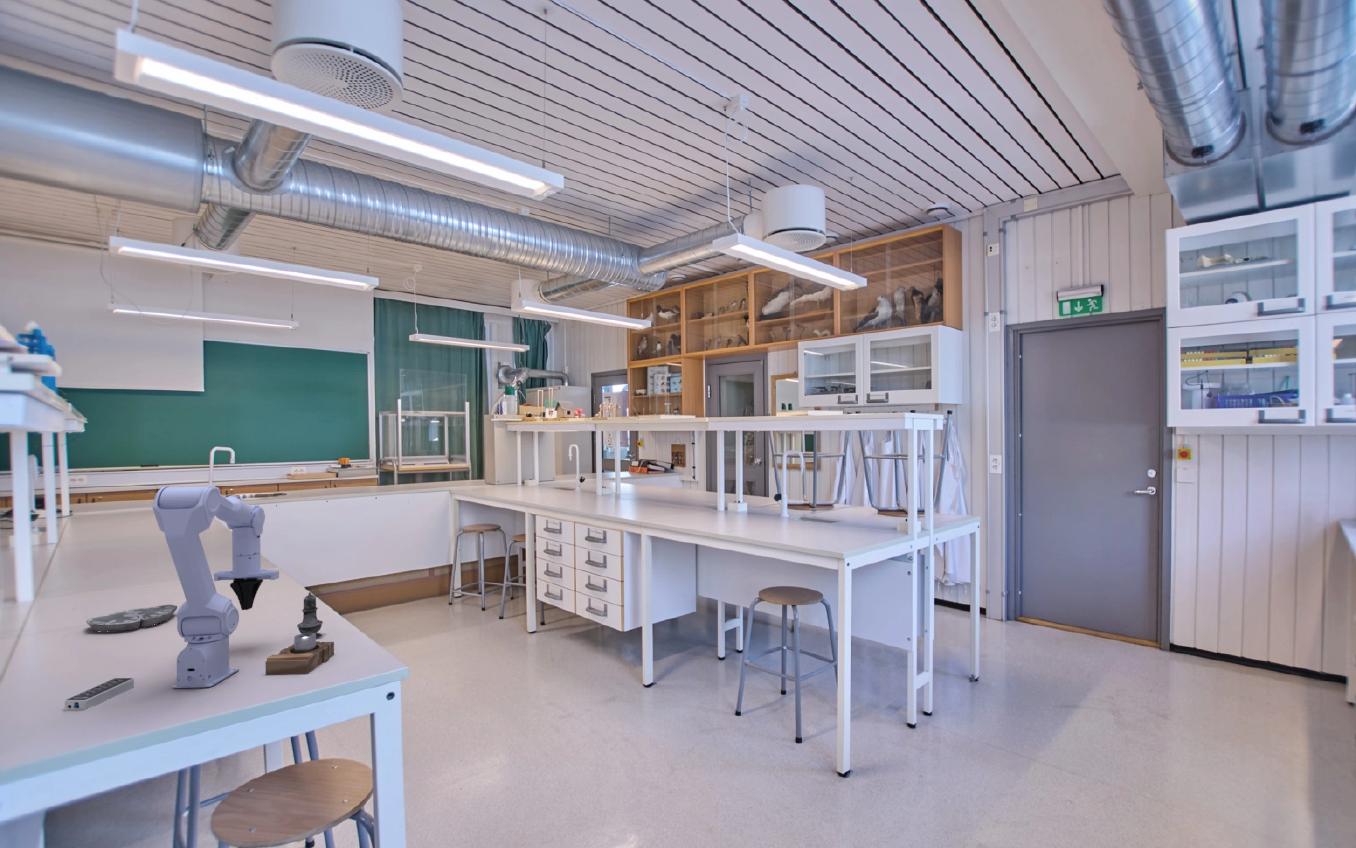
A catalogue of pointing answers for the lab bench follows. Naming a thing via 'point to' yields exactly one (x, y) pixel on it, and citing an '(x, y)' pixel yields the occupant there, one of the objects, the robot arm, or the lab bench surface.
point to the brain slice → (132, 618)
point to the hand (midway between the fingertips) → (247, 609)
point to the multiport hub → (99, 694)
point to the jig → (298, 659)
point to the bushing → (304, 643)
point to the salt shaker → (310, 617)
